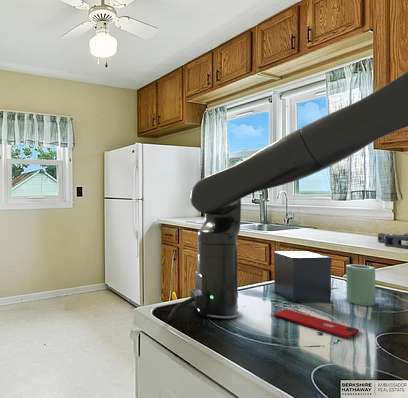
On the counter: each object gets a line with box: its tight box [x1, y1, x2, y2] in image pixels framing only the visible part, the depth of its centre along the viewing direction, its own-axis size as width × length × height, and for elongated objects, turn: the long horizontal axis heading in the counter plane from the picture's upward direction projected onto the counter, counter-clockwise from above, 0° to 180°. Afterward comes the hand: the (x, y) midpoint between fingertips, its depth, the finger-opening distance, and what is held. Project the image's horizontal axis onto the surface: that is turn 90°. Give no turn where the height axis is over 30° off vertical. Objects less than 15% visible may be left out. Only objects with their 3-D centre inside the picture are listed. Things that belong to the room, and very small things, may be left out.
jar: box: [345, 263, 376, 307], centre depth 86 cm, size 6×6×10 cm
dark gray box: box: [273, 251, 333, 303], centre depth 91 cm, size 12×10×12 cm
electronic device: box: [273, 308, 360, 339], centre depth 71 cm, size 6×1×15 cm
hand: (397, 237), depth 75 cm, fingers open, 8 cm apart
